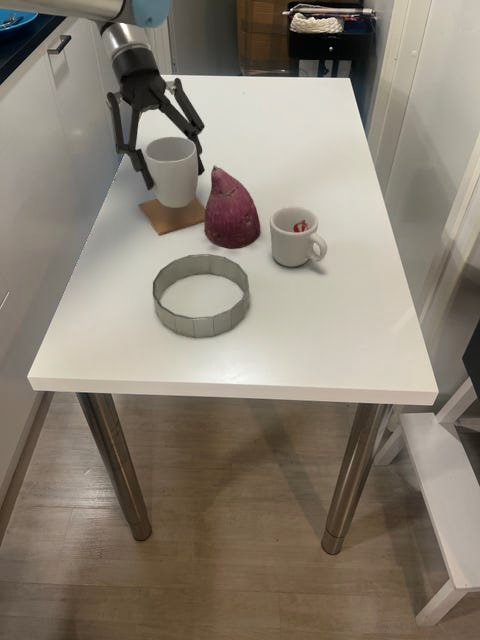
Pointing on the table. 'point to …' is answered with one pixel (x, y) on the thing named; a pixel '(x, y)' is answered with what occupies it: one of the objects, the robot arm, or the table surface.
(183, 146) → the mug
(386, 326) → the table surface
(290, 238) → the cup
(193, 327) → the ring
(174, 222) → the mat
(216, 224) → the vegetable
